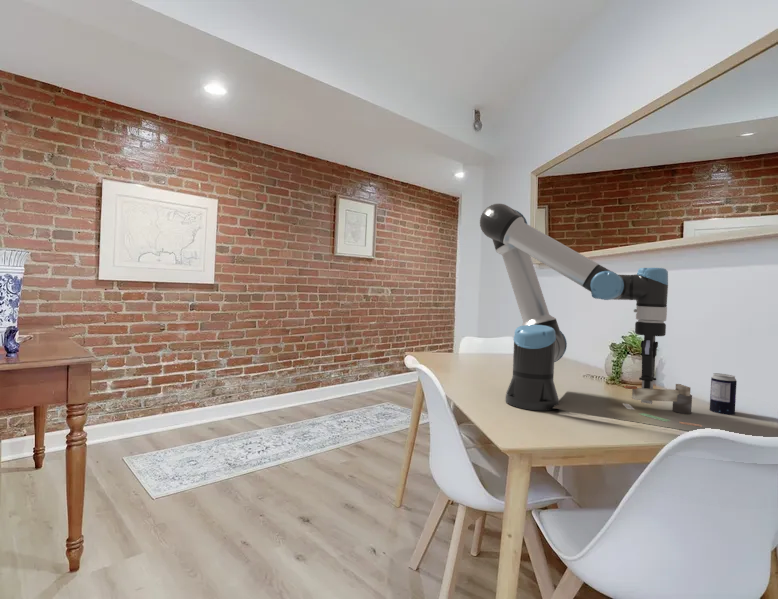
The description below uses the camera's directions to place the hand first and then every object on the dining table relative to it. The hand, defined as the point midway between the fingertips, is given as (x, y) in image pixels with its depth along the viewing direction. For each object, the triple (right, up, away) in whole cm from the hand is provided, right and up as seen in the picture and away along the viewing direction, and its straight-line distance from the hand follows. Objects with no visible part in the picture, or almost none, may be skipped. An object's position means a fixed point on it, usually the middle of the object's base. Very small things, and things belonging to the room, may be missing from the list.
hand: (646, 402), depth 122 cm
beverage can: (+21, -4, -2) cm, 21 cm away
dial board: (0, -3, -5) cm, 6 cm away
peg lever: (+1, -2, -3) cm, 4 cm away
